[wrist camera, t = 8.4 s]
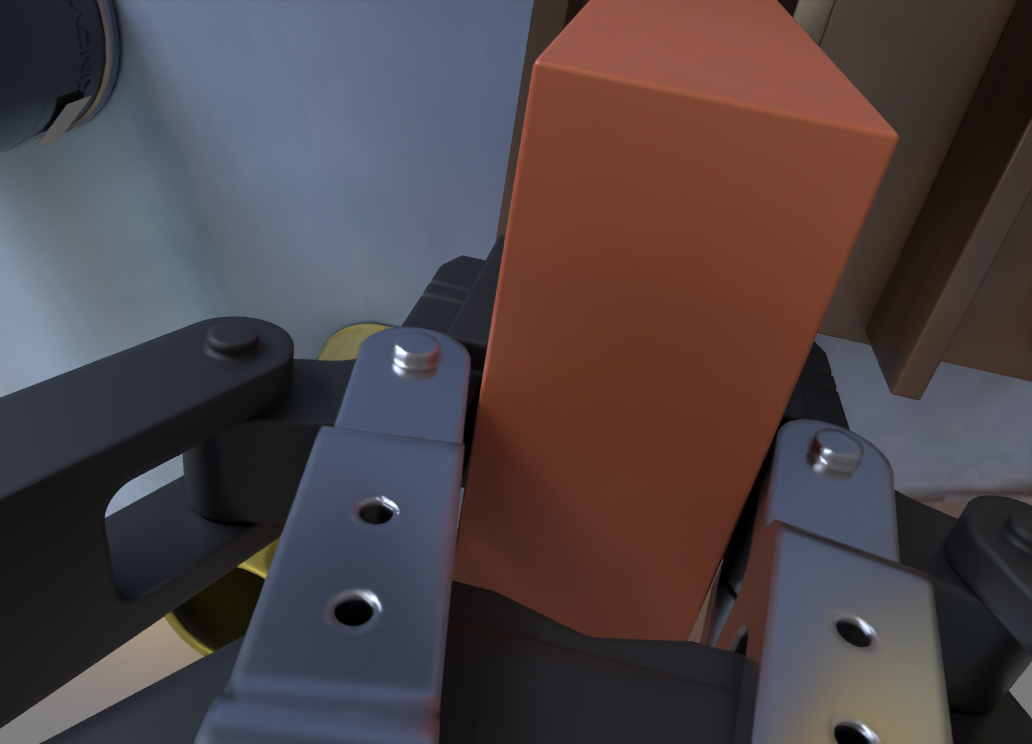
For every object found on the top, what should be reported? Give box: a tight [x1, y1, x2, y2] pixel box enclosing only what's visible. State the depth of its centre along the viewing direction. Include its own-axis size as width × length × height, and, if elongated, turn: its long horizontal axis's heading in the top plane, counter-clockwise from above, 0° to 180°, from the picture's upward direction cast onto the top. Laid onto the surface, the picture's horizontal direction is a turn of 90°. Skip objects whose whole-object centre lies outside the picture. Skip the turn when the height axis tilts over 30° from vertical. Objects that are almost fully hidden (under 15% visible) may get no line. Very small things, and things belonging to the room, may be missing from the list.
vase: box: [164, 324, 391, 656], centre depth 30 cm, size 6×6×14 cm
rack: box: [496, 0, 1032, 400], centre depth 24 cm, size 22×15×9 cm
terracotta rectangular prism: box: [452, 0, 899, 641], centre depth 13 cm, size 3×9×11 cm, turn 171°
